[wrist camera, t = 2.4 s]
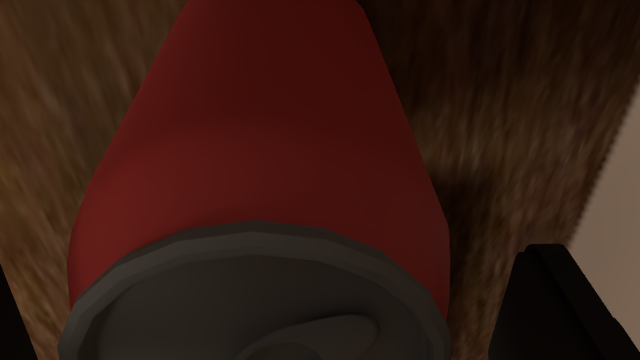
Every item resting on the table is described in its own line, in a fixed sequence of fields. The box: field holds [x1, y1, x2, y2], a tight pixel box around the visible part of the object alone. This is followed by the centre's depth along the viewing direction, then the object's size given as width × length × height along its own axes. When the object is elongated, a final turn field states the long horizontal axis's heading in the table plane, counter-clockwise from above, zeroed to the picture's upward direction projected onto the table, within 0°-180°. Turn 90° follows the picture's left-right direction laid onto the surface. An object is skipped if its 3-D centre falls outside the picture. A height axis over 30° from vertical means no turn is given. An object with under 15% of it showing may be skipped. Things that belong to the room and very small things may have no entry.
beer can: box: [58, 0, 451, 360], centre depth 13 cm, size 7×7×12 cm
